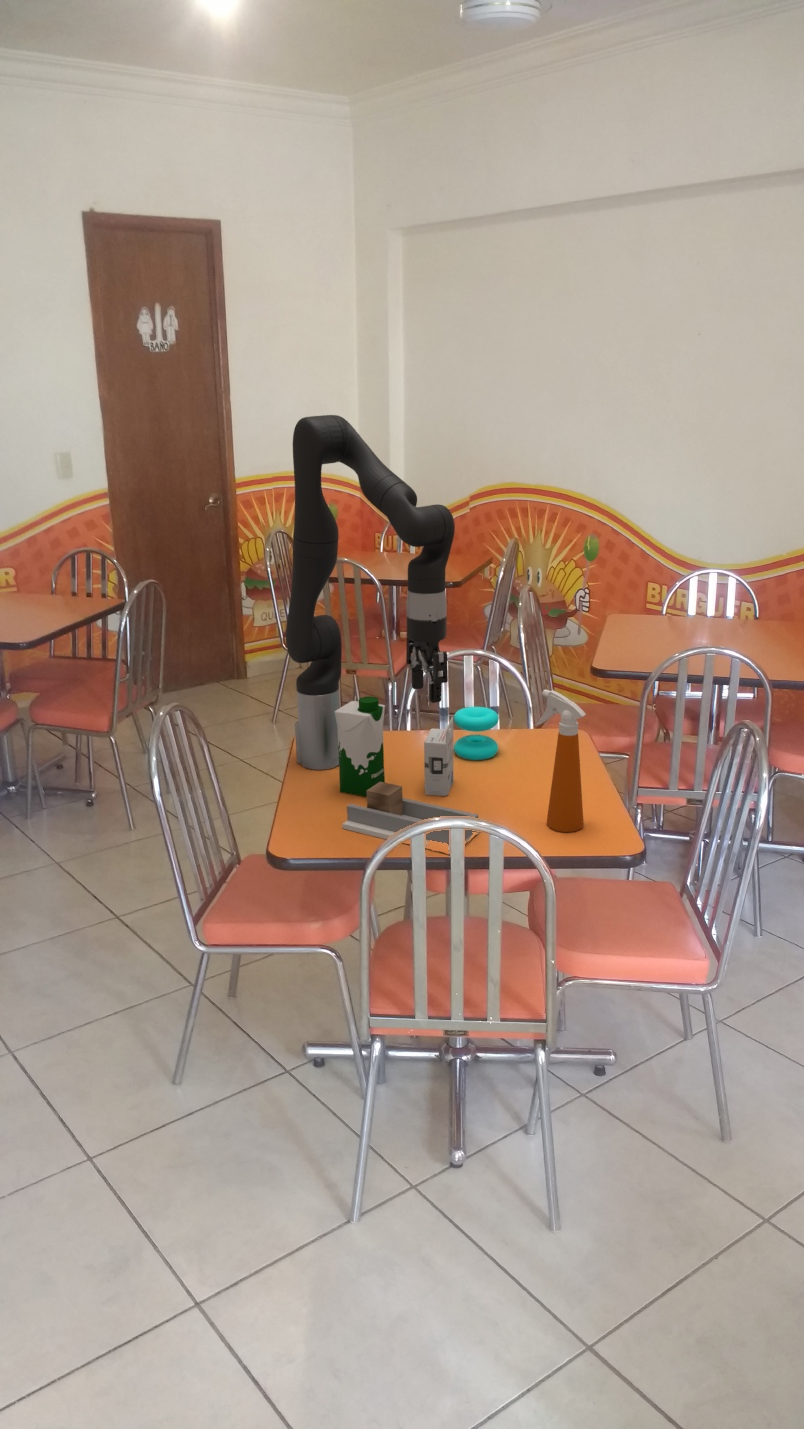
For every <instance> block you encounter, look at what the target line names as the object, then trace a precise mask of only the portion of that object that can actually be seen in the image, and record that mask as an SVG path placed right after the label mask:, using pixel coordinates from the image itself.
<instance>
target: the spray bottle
mask: <svg viewBox="0 0 804 1429" xmlns="http://www.w3.org/2000/svg"><path fill="white" fill-rule="evenodd" d="M541 694H542V696H543V697H544V698H546V699H547V701H546V703H545V705H546V709H545V711H544V712H543V714H542V716H541V717H540V719H538V721H537V722H536V723H535V724H534V725H533V726H534V727H536V726H539V725H541V724H544V723H545V722H546V721H548V720H549V719H550V718H551V717H553V716H555V715H556V714H559V715H560V721H559V722H558V734H557V742H556V750H555V757H554V763H553V764H554V765H553V772H552V779H551V785H550V795H549V801H548V808H547V809H548V810H547V816H546V826H547V827H548V828H549V829H551V830H554V831H555V832H560V833H573V832H576V831H580V830H581V829H582V828H584V825H585V824H584V823H585V822H584V812H583V810H584V809H583V794H582V792H583V791H582V775H581V760H580V744H579V743H580V742H579V741H580V740H579V722H578V720H579V719H581V718H583V717H585V716H586V713H585V711H584V710H583V709H582V708H581V707H580V706H579V705H578V704H576V703H575V702H573V701H572V700H571V699H569V698H567V697H566V696H564V695H563V694H561V693H560V692H557V691H555V689H552V690H549V689H544V690H542V693H541Z"/></svg>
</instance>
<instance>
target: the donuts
mask: <svg viewBox="0 0 804 1429" xmlns="http://www.w3.org/2000/svg"><path fill="white" fill-rule="evenodd" d="M498 722H499V714H498V713H497V712H496V711H495V710H493V709H492V708H489V707H483V706H467V707H464V708H461V709H458V710H457V711H456V712H455V713H454V715H453V723H455V726H457V727H458V728H460V729H462V730H465V731H467V732H476V733H477V732H486V731H489V730H491V729H493V728H494V727H496V726H497V724H498ZM498 745H499V744H498V743H497V741H496V740H494V739H493V738H492V737H491V736H487V735H484V734H469V735H467V734H466V735H464V736H462V737H460V738H458V739H457V740H456V741H455V742H454V743H453V752H454V753H455V754H456V756H458V757H460V758H462V759H465V760H469V761H470V760H471V761H482V760H488V759H491V758H492V757H494V756H495V755H496V754H497V753H498V751H499V746H498Z"/></svg>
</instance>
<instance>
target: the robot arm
mask: <svg viewBox="0 0 804 1429" xmlns="http://www.w3.org/2000/svg"><path fill="white" fill-rule="evenodd" d="M292 435H293V436H292V459H293V460H292V463H293V464H292V465H293V478H294V521H293V522H294V523H293V536H292V571H291V585H290V586H291V588H290V597H289V606H288V613H287V619H286V628H285V644H286V649H287V653H288V655H289V657H290V658H291V660H292V661H294V662H295V663H297V664H305V663H310V662H311V663H310V664H309V666H308V667H307V668H306V669H305V670H304V671H302V672H301V673H300V674H299V675H298V676H297V677H296V681H295V683H296V685H295V687H296V700H297V701H296V702H297V718H298V719H297V720H298V721H296V722H295V723H294V733H295V734H294V735H295V752H296V754H295V755H296V763H297V764H299V765H301V766H302V767H303V768H306V769H310V770H328V769H329V770H330V769H333V768H336V767H339V750H338V728H337V722H336V717H335V711H336V710H338V709H339V708H341V706H340V705H341V704H340V702H341V701H340V680H341V676H342V652H343V650H342V649H343V648H342V647H343V645H342V641H343V640H342V634H341V630H340V626H339V624H338V622H337V620H336V619H335V618H334V617H332V616H331V615H328V614H319V615H315V610H316V605H317V602H318V599H319V597H320V595H321V592H322V591H323V589H324V588H325V586H326V584H327V583H328V581H329V579H330V577H331V575H332V574H333V572H334V569H335V567H336V564H337V560H338V551H339V549H338V548H339V526H338V523H337V521H336V519H335V517H334V514H333V513H332V510H331V509H330V507H329V505H328V503H327V501H326V499H325V496H324V494H323V487H322V467H323V465H328V464H336V463H341V464H342V465H345V466H347V467H348V468H350V469H351V470H353V471H354V472H355V473H356V475H357V478H358V483H359V484H358V485H359V487H360V490H361V493H362V494H363V496H364V497H365V499H366V500H367V501H368V502H370V504H371V505H372V506H374V507H375V508H376V509H377V510H378V511H379V512H380V513H382V514H383V515H384V516H385V517H386V518H387V519H388V521H389V523H390V525H391V527H392V528H393V530H394V531H395V534H397V536H398V538H399V540H401V541H402V542H403V543H405V544H406V545H408V546H410V547H413V548H420V547H422V549H421V552H420V553H419V554H418V555H417V556H416V557H414V558H412V559H410V561H409V562H408V565H407V596H406V650H405V651H406V654H405V655H406V656H405V657H406V659H405V660H406V665H409V669H410V671H411V688H412V689H413V690H420V689H421V690H422V689H423V688H424V674H426V675H427V677H428V681H429V685H428V688H429V689H428V690H429V691H428V692H429V693H428V694H429V696H428V700H429V702H430V703H431V704H435V703H440V702H441V701H442V684H444V683H448V681H449V680H448V677H449V674H448V673H449V672H448V653H447V652H448V651H446V650H444V651H443V650H442V651H441V650H440V645H439V644H440V641H443V640H445V639H446V637H447V610H448V609H447V608H448V607H447V605H448V604H447V602H448V601H447V595H446V568H447V564H448V561H449V557H450V555H451V551H452V550H451V549H452V545H453V541H454V538H455V532H456V527H455V526H456V525H455V519H454V516H453V513H452V512H451V511H450V509H449V508H448V507H447V506H446V505H443V504H429V505H424V506H418V507H417V505H418V504H417V503H418V496H417V492H416V491H415V490H414V489H413V488H412V487H411V486H410V485H409V484H408V483H406V481H404V480H403V479H401V478H400V477H399V476H398V475H397V474H395V472H393V471H392V470H391V469H390V468H389V467H387V466H386V465H385V464H384V463H383V461H381V460H380V459H379V457H378V456H377V455H376V454H375V452H374V451H373V450H372V448H370V446H369V445H368V443H366V441H365V440H364V439H363V437H361V435H360V434H359V433H358V432H357V430H356V429H355V428H354V427H353V425H352V424H351V423H350V422H348V420H347V419H345V418H344V417H343V416H340V415H337V414H327V415H325V414H324V415H313V416H305V417H302V418H300V419H299V420H298V421H297V422H296V423H295V427H294V429H293V433H292Z"/></svg>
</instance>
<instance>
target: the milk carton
mask: <svg viewBox="0 0 804 1429" xmlns="http://www.w3.org/2000/svg"><path fill="white" fill-rule="evenodd" d="M385 710H386V705H385V704H381V703H379V698H378V697H375V696H363V697H360V698H359V699H358V701H357V700H351V701H349V702H348V703H346V704H344V705H343V706H340V708H339V709H338V710H336V711H335V717H336V722H337V728H338V750H339V765H338V770H339V772H338V773H339V774H338V775H339V793H343V794H349V795H354V796H359V797H364V798H367V790H368V789H370V788H371V787H373V786H374V785H376V784H377V783H379V782H385V783H386V781H385V778H386V777H385V776H386V775H385V761H384V760H385V758H384V754H385V753H384V719H385Z"/></svg>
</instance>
